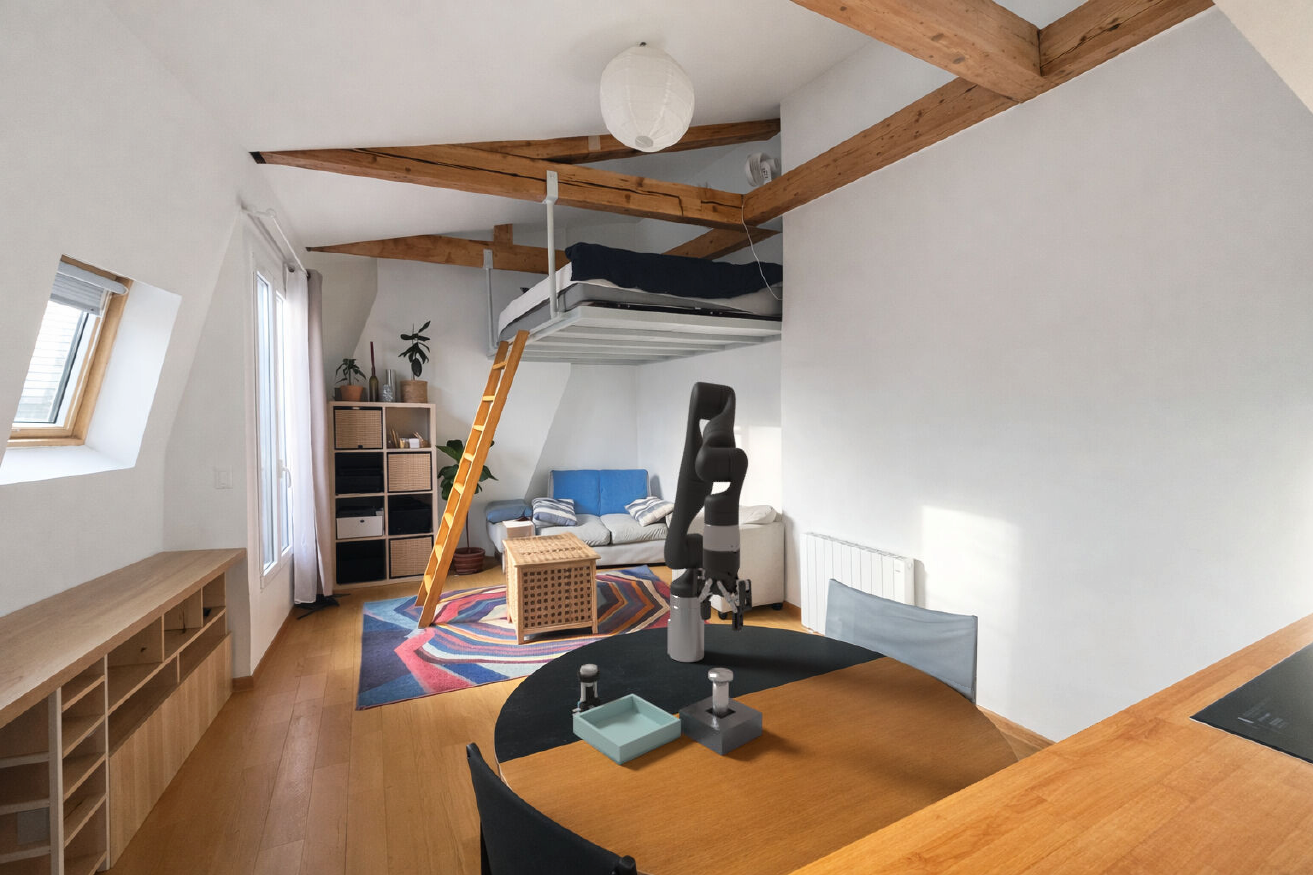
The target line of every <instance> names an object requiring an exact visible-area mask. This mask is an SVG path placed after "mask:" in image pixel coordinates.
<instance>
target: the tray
mask: <svg viewBox="0 0 1313 875" xmlns="http://www.w3.org/2000/svg"><path fill="white" fill-rule="evenodd" d="M572 723H573V724H572V725H573V726H572V731H573V734H575V735H576V736H577V737H579V739H582V740H583V742H586V743H587V744H589V745H590V746H592V747H593V748H594V749H596V750H598V752H600V753H602V754H603V755H604V756H605V757H607V758H608V759H610V760H612V761H613V762H614V763H616V764H617V765H618V766H621V765H623V764H625V763H628V762H630V761H632V760H634V759H637V758H639V757H640V756H643V755H645V754H647V753H649V752H651V751H654V750H655V749H658V748H660V747H662V746H664V745H667V744H668V743H671V742H673V741H675V740H677V739H679V738H681V737H682V735H681V734H682V733H681V720H680V719H679V717H677V716H675V715H673V714H671V713H669V712H667V711H666V710H663V709H662V708H661V707H658V706H656V705H654V704H653V703H651V702H649V701H647V700H645V699H644V698H642V697H640V696H639V695H636V694H634V693H631V694H628V695H625V696H623V697H620V698H617V699H614V700H612V701H609V702H607V703H604V704H601V706H598V707H595V708H593V709H590V710H587V711H585V712H582V713H579V714H577V715H576V714H574V716H573V715H572Z"/></svg>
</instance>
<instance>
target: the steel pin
mask: <svg viewBox="0 0 1313 875" xmlns="http://www.w3.org/2000/svg"><path fill="white" fill-rule="evenodd" d="M707 676H708V680H710V681H711V682H712V696H713V715H714V716H716V717H718V718H720V719H722V718H725V717H727V716H728V697H730V695H729V694H730V693H729V692H730V691H729V685H730V684H729V683H730V682H732V681H733V680H734V672H733V671H732V670H731V669H728V668H724V667H714V668H711V669H709V670H708V675H707Z"/></svg>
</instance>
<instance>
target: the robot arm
mask: <svg viewBox="0 0 1313 875" xmlns="http://www.w3.org/2000/svg"><path fill="white" fill-rule="evenodd" d="M689 398H690V399H689V405H688V413H687V414H688V415H687V423H686V432H685V439H684V445H683V446H684V447H683V452H682V456H681V457H682V458H681V462H680V467H679V472H678V478H677V484H676V492H675V497H674V498H675V499H674V503H673V504H674V505H673V510H672V514H671V519H670V522H669V525H668V529H667V532H666V537H665V542H664V547H663V557H664V558H663V559H664V562H665V566H666V567H667V568H669V569H670V570H673V571H674V570H675V571H677V570H679V571H680V570H685V571H684V572H683V573H682V574H681V575H680V576H679V577H676V578H675V579H673V580H672V581H671V583H670V587H669V598H670V599H669V603H670V605H669V614H670V615H669V618H668V619H667V655H669V657H670V658H671V659H672V660H675V661H678V662H682V663H695V662H698V661H701V660H703V658H704V656H705V621H708V620H710V619H711V618H712V601H711V599H712V597H713V596H719V597H721V598H724V599H725V602H726V603H727V604H729V605H730V607H731V611H732V612H731V630H732V631H733V632H737V631H738V632H739V631H741V630H742V628H743V627H744V612H747V611H750V610H752V609H753V598H752V597H753V595H752V592H753V591H752V581H751V579H750V578H746V579H743V578H742V579H741V578H740V577H739V574H738V573H739V570H740V568H741V532H740V517H739V516H740V500H741V492H742V489H743V486H744V482H745V479H746V475H747V472H748V467H749V458H748V455H747V454H746V452H745V450H743V449H742V448H740V447H737V443H736V436H735V432H734V431H735V430H734V429H735V420H736V405H737V404H736V403H737V397H736V391H735V390H734V388H733V387H731V386H729V385H725V384H720V383H713V382H705V381H704V382H703V381H697V382H695V383H694V385H693V387H692V388H691V392H690V397H689ZM701 420H703V421H707V423H706V424H705V426H704V428H703V431H702V430H701V423H700V422H701ZM714 483H729V486H728V487H727V488H726V489H725V490H724V491H721V492H720V491H719V492H717V493H716V492H715V493H712V492H713V489H714ZM703 508H704V511H703V512H704V513H703V516H704V517H703V518H704V521H703V523H704V525H703V532H702V534H700V533H695V532H694V533H691V532H690V533H688V532H689V529H690V527H691V524H692V523H693V521H694V519H695V518H696V516H698V515H699V513H700V511H701V510H702V509H703Z"/></svg>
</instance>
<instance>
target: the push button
mask: <svg viewBox="0 0 1313 875" xmlns="http://www.w3.org/2000/svg"><path fill="white" fill-rule="evenodd" d="M601 674H602V670H601V669H600V668H598V665H596V664H593V663H588V664H583V665H581V667H580V668H579V669H578V670H576V676H577V680H578V681H579V682H580V700H579V701H578V702H577V708H575V709H572V712H575V713H572V717H573V716H574V715H577V714H579V713H582V712H585V711H587V710H590V709H593V708H595V707H598V706H601V705H602V700H601V699H600V698H599V697H598V689H597V686H598V685H597V684H598V683H597V682H598V681H600V680H601Z"/></svg>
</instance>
